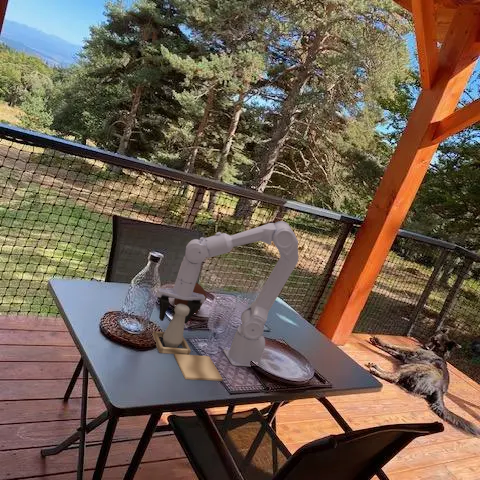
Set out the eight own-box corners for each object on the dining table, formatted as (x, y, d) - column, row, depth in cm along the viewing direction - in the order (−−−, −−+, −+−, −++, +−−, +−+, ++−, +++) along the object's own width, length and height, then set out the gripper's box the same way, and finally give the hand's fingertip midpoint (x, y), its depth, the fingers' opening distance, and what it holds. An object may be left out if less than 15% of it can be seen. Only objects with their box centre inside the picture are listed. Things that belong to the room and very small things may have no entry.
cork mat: (208, 358, 135) (209, 356, 135) (222, 380, 126) (222, 378, 125) (173, 355, 130) (174, 353, 129) (185, 379, 120) (185, 377, 120)
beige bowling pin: (175, 353, 131) (189, 313, 128) (157, 345, 132) (170, 305, 129) (182, 345, 137) (195, 306, 134) (165, 337, 138) (177, 299, 135)
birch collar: (180, 338, 141) (181, 333, 140) (189, 355, 133) (190, 350, 132) (151, 335, 136) (153, 331, 136) (159, 352, 128) (160, 348, 128)
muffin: (164, 301, 162) (172, 276, 160) (188, 301, 170) (196, 276, 168) (182, 318, 154) (191, 292, 152) (207, 317, 162) (216, 291, 160)
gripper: (204, 277, 140) (191, 316, 143) (159, 270, 133) (146, 311, 136) (212, 287, 134) (198, 328, 137) (165, 280, 127) (152, 323, 130)
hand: (173, 320), depth 136 cm, fingers open, 7 cm apart
